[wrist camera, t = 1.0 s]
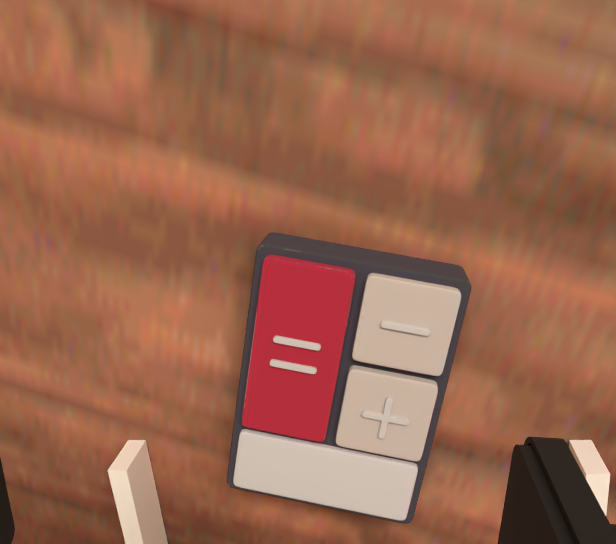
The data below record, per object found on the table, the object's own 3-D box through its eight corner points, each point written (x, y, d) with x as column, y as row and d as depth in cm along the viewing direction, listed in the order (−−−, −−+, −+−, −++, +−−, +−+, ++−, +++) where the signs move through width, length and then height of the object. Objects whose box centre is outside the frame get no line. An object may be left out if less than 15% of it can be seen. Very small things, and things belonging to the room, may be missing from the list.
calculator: (476, 285, 28) (412, 536, 32) (464, 261, 32) (408, 487, 36) (253, 245, 29) (221, 496, 33) (269, 227, 33) (238, 452, 37)
